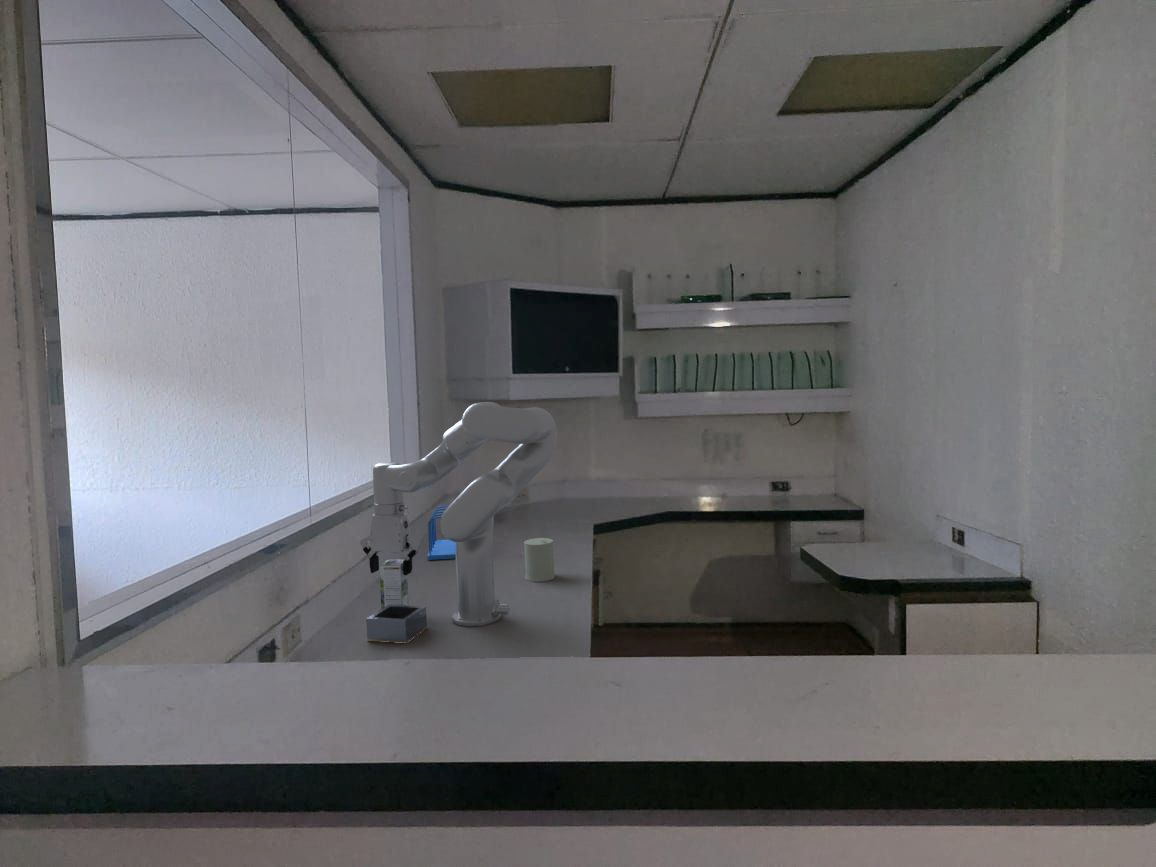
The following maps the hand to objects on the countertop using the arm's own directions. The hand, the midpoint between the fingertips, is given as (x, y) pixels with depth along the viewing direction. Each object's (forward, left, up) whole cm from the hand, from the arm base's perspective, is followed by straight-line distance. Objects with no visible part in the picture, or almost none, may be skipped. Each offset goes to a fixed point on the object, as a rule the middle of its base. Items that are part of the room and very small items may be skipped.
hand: (391, 572), depth 179 cm
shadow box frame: (-9, +13, -12) cm, 19 cm away
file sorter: (+14, -68, -12) cm, 71 cm away
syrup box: (-1, 0, -12) cm, 12 cm away
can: (-29, -39, -12) cm, 50 cm away
